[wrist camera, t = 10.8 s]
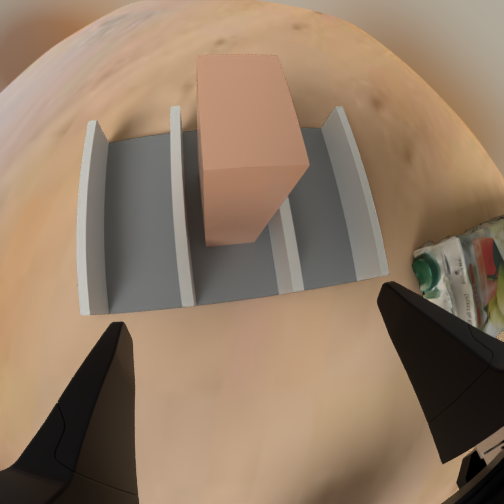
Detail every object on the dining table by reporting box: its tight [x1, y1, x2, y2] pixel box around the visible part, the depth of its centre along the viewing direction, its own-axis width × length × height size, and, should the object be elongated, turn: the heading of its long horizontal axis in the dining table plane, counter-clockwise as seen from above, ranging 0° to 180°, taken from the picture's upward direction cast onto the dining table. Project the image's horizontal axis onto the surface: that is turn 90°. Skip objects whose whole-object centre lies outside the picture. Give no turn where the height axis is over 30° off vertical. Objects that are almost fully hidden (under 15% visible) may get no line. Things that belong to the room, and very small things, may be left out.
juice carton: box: [412, 215, 504, 338], centre depth 18 cm, size 20×10×6 cm, turn 105°
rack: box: [77, 106, 389, 316], centre depth 16 cm, size 12×19×4 cm, turn 98°
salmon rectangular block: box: [197, 54, 310, 247], centre depth 13 cm, size 5×3×10 cm, turn 8°
